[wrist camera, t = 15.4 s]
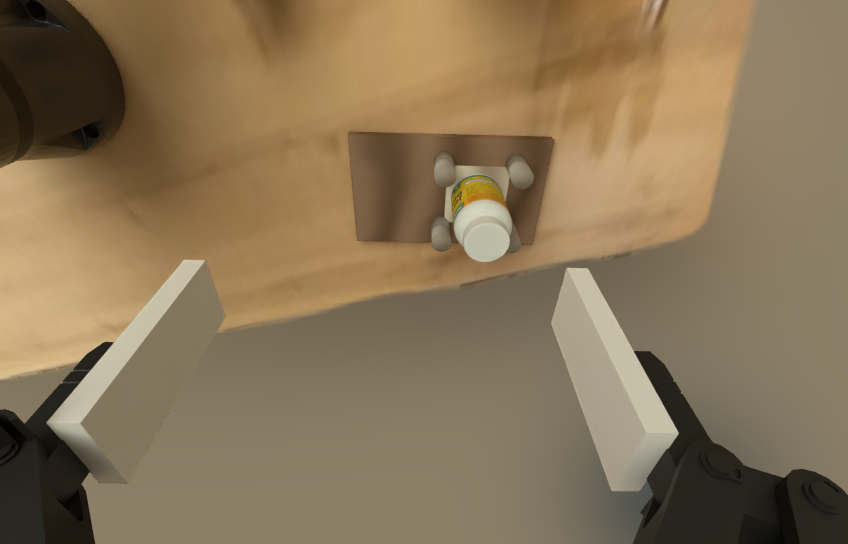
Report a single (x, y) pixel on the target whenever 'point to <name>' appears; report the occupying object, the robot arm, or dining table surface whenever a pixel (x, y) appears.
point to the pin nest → (441, 182)
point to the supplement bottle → (481, 217)
